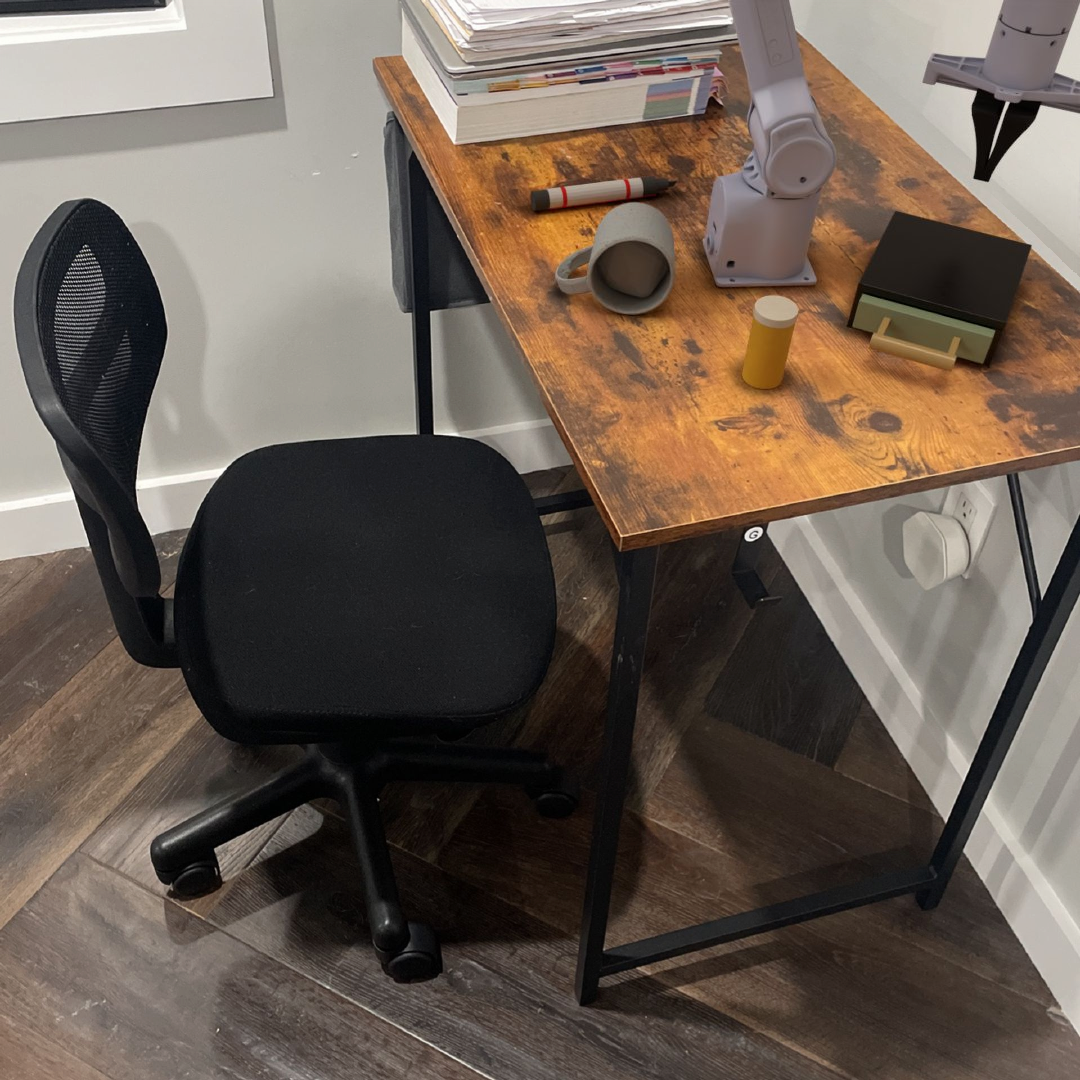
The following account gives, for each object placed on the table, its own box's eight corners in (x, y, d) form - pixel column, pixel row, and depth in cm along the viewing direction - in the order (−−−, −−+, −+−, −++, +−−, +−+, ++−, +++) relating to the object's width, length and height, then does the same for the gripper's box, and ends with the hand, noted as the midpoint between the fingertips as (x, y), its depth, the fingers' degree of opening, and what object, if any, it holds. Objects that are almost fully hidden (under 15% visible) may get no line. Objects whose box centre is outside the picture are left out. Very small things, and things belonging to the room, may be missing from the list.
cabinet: (989, 367, 98) (1006, 322, 95) (846, 326, 102) (858, 282, 98) (1015, 287, 107) (1032, 244, 103) (883, 252, 110) (895, 210, 107)
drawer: (973, 392, 94) (984, 364, 92) (839, 353, 97) (846, 326, 95) (1008, 290, 105) (1018, 263, 103) (885, 258, 108) (893, 231, 106)
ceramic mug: (670, 267, 107) (678, 193, 102) (670, 318, 102) (679, 242, 96) (558, 262, 108) (560, 187, 102) (552, 311, 102) (553, 236, 97)
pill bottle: (732, 372, 97) (745, 303, 91) (763, 359, 98) (777, 290, 93) (760, 395, 95) (775, 325, 90) (791, 380, 96) (807, 311, 91)
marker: (535, 215, 113) (535, 196, 112) (529, 205, 114) (530, 186, 113) (678, 196, 116) (681, 178, 115) (671, 187, 118) (674, 169, 116)
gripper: (934, 20, 92) (892, 176, 102) (1122, 58, 88) (1059, 216, 98) (952, -9, 96) (910, 142, 106) (1131, 26, 92) (1070, 180, 102)
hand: (982, 175), depth 102 cm, fingers closed
